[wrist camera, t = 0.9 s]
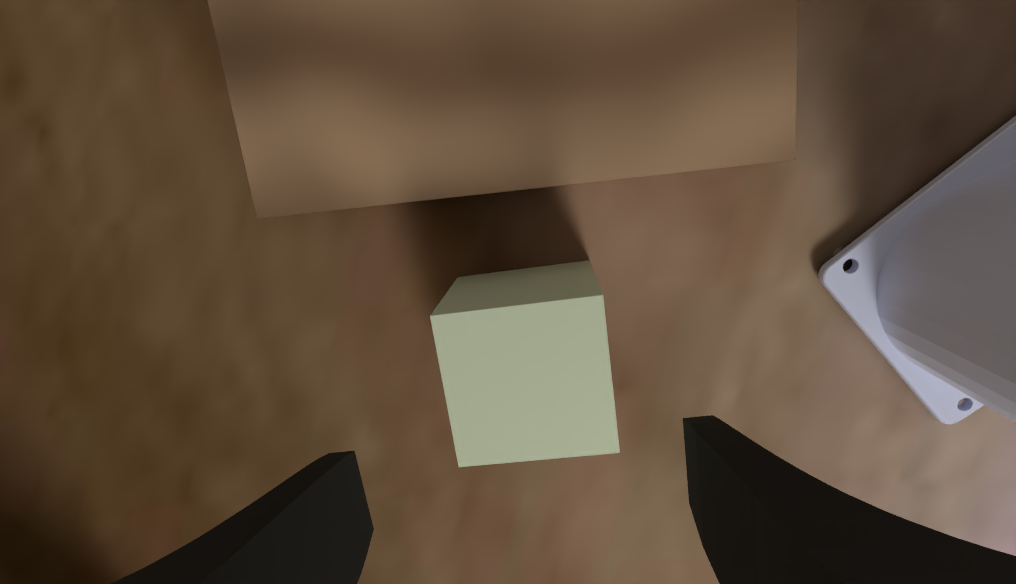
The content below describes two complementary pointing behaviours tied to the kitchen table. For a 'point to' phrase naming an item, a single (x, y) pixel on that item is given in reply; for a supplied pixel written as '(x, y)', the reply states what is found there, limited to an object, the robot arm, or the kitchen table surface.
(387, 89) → the walnut board
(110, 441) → the kitchen table surface
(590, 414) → the sage cube
